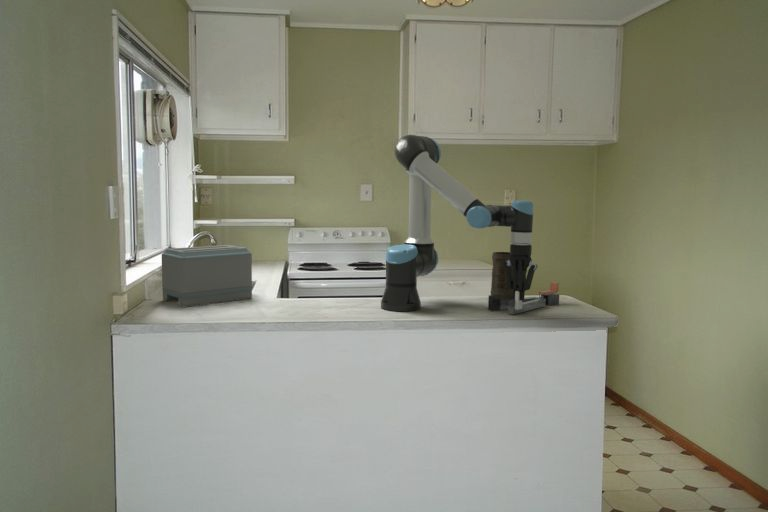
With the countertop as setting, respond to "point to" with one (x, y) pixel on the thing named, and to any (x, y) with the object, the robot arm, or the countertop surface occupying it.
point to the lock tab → (551, 288)
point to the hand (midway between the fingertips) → (518, 308)
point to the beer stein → (500, 276)
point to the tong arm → (526, 305)
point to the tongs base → (496, 304)
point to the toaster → (206, 274)
